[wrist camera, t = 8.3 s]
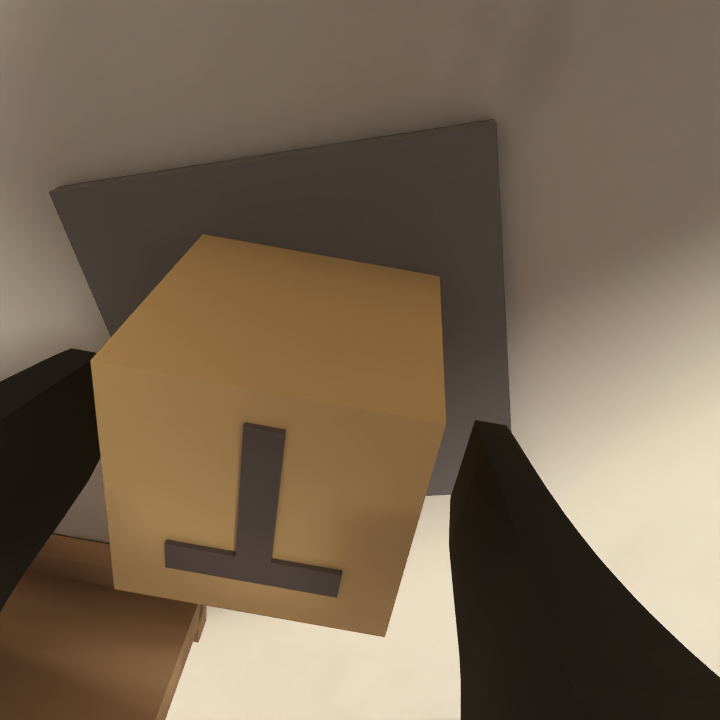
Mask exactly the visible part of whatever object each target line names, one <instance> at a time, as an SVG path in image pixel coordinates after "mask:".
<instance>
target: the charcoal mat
mask: <svg viewBox="0 0 720 720" xmlns="http://www.w3.org/2000/svg"><path fill="white" fill-rule="evenodd" d="M49 194H50V196H51V198H52V201H53V203H54V205H55V208H56V210H57V212H58V215H59V217H60V219H61V222H62V224H63V226H64V229H65V231H66V233H67V236H68V238H69V240H70V242H71V245H72V247H73V249H74V252H75V254H76V256H77V259H78V261H79V263H80V266H81V268H82V270H83V273H84V275H85V277H86V280H87V282H88V284H89V287H90V289H91V291H92V294H93V296H94V298H95V301H96V303H97V305H98V308H99V310H100V312H101V315H102V317H103V319H104V322H105V324H106V326H107V329H108V331H109V333H110V336H111V337H112V336H113V335H114V333H115V332H116V331H117V330H118V329H119V328H120V327H121V326H122V324H123V323H124V322H125V321H126V320H127V319H128V318H129V317H130V315H131V314H132V313H133V312H134V311H135V310H136V309H137V308H138V306H139V305H140V304H141V303H142V302H143V301H144V300H145V299H146V297H147V296H148V295H149V294H150V293H151V292H152V291H153V290H154V288H155V287H156V286H157V285H158V284H159V283H160V282H161V281H162V279H163V278H164V277H165V276H166V275H167V274H168V273H169V272H170V271H171V269H172V268H173V267H174V266H175V265H176V264H177V263H178V262H179V260H180V259H181V258H182V257H183V256H184V255H185V254H186V253H187V251H188V250H189V249H190V248H191V247H192V246H193V245H194V244H195V242H196V241H197V240H198V239H199V238H200V237H201V236H202V235H203V234H205V235H211V236H216V237H222V238H227V239H233V240H239V241H244V242H250V243H256V244H261V245H267V246H272V247H278V248H284V249H289V250H295V251H300V252H306V253H312V254H317V255H323V256H329V257H334V258H340V259H345V260H351V261H357V262H362V263H368V264H374V265H379V266H385V267H390V268H396V269H402V270H407V271H413V272H418V273H424V274H430V275H435V276H440V295H441V317H442V340H443V362H444V385H445V407H446V426H445V430H444V433H443V437H442V440H441V444H440V447H439V451H438V454H437V458H436V461H435V464H434V468H433V471H432V475H431V478H430V482H429V485H428V489H427V492H426V496H432V495H450V494H452V491H453V488H454V485H455V481H456V478H457V475H458V472H459V469H460V466H461V463H462V459H463V456H464V453H465V450H466V447H467V444H468V441H469V437H470V434H471V431H472V428H473V425H474V422H475V420H479V421H485V422H490V423H496V424H502V425H507V427H508V428H509V430H510V431H511V419H510V398H509V378H508V357H507V337H506V317H505V296H504V276H503V255H502V235H501V214H500V194H499V173H498V153H497V132H496V123H495V121H494V120H488V121H482V122H475V123H469V124H462V125H456V126H449V127H443V128H436V129H430V130H423V131H417V132H410V133H404V134H397V135H391V136H384V137H378V138H371V139H365V140H358V141H352V142H346V143H339V144H333V145H326V146H320V147H313V148H307V149H300V150H294V151H287V152H281V153H274V154H268V155H261V156H255V157H248V158H242V159H235V160H229V161H222V162H216V163H209V164H203V165H196V166H190V167H183V168H177V169H170V170H164V171H158V172H151V173H145V174H138V175H132V176H125V177H119V178H112V179H106V180H99V181H93V182H86V183H80V184H73V185H67V186H60V187H57V188H56V189H54V190H52V191H50V192H49Z"/></svg>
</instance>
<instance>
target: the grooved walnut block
mask: <svg viewBox="0 0 720 720" xmlns="http://www.w3.org/2000/svg"><path fill="white" fill-rule="evenodd" d="M205 622H206V605H201V604H195V603H190V602H184V601H179V600H173V599H167V598H162V597H156V596H150V595H145V594H139V593H133V592H128V591H122V590H117V589H114V580H113V571H112V561H111V552H110V544H105V543H99V542H94V541H88V540H82V539H77V538H71V537H65V536H60V535H54V534H52V535H51V536H50V537H49V539H48V540H47V542H46V543H45V545H44V546H43V547H42V549H41V550H40V552H39V553H38V555H37V556H36V558H35V559H34V560H33V562H32V563H31V565H30V566H29V568H28V569H27V570H26V572H25V573H24V575H23V576H22V578H21V579H20V581H19V582H18V584H17V585H16V587H15V589H14V590H13V592H12V593H11V595H10V596H9V598H8V600H7V601H6V603H5V605H4V607H3V608H2V610H1V612H0V720H165V719H166V716H167V713H168V710H169V707H170V705H171V702H172V699H173V696H174V693H175V691H176V688H177V685H178V682H179V679H180V676H181V674H182V671H183V668H184V665H185V662H186V660H187V657H188V654H189V651H190V648H191V645H192V643H193V642H199V639H200V636H201V633H202V630H203V628H204V625H205Z"/></svg>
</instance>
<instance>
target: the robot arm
mask: <svg viewBox="0 0 720 720" xmlns="http://www.w3.org/2000/svg"><path fill="white" fill-rule="evenodd" d="M96 354H97V353H94V352H88V351H83V350H77V349H69V350H66V351H64V352H61V353H59V354H57V355H55V356H52V357H50V358H48V359H46V360H44V361H42V362H40V363H38V364H36V365H34V366H31V367H29V368H27V369H25V370H23V371H21V372H19V373H17V374H15V375H13V376H11V377H9V378H7V379H5V380H3V381H1V382H0V612H1V610H2V608H3V607H4V605H5V603H6V601H7V600H8V598H9V596H10V595H11V593H12V592H13V590H14V589H15V587H16V585H17V584H18V582H19V581H20V579H21V578H22V576H23V575H24V573H25V572H26V570H27V569H28V568H29V566H30V565H31V563H32V562H33V560H34V559H35V558H36V556H37V555H38V553H39V552H40V550H41V549H42V547H43V546H44V545H45V543H46V542H47V540H48V539H49V537H50V536H51V535H52V533H53V532H54V530H55V529H56V527H57V526H58V525H59V523H60V522H61V520H62V519H63V517H64V516H65V514H66V513H67V512H68V510H69V509H70V507H71V506H72V504H73V503H74V501H75V500H76V498H77V497H78V495H79V494H80V493H81V491H82V490H83V488H84V487H85V485H86V484H87V482H88V480H89V479H90V477H91V475H92V473H93V471H94V469H95V467H96V465H97V463H98V461H99V459H100V447H99V437H98V428H97V418H96V409H95V399H94V390H93V380H92V371H91V361H90V360H91V359H92V358H93V357H94V356H95V355H96ZM449 549H450V561H451V572H452V583H453V593H454V604H455V614H456V624H457V635H458V645H459V656H460V674H461V720H720V677H719V676H718V675H716V674H715V673H714V672H713V671H712V670H710V669H709V668H708V667H707V666H706V665H705V664H704V663H703V662H701V661H700V660H699V659H698V658H697V657H696V656H695V655H694V654H692V653H691V652H690V651H689V650H688V649H687V648H686V647H685V646H684V645H683V644H682V643H680V642H679V641H678V640H677V639H676V638H675V637H674V636H673V635H672V634H671V633H670V632H669V631H668V630H667V629H666V628H665V627H664V626H663V625H662V624H661V623H660V622H659V621H657V620H656V619H655V618H654V617H653V616H652V615H651V614H650V613H649V612H648V611H647V610H646V609H645V608H644V607H643V606H642V605H641V604H640V602H639V601H638V600H637V599H636V598H635V597H634V596H633V595H632V594H631V593H630V592H629V591H628V590H627V589H626V587H625V586H624V585H623V584H622V583H621V582H620V581H619V580H618V579H617V578H616V576H615V575H614V574H613V573H612V572H611V571H610V570H609V569H608V568H607V567H606V565H605V564H604V563H603V562H602V561H601V559H600V558H599V557H598V556H597V555H596V554H595V552H594V551H593V550H592V549H591V547H590V546H589V545H588V544H587V542H586V541H585V540H584V538H583V537H582V536H581V535H580V533H579V532H578V531H577V529H576V528H575V527H574V526H573V524H572V523H571V522H570V520H569V519H568V518H567V516H566V515H565V514H564V512H563V511H562V509H561V508H560V506H559V505H558V503H557V502H556V501H555V499H554V498H553V496H552V495H551V493H550V492H549V491H548V489H547V488H546V486H545V485H544V483H543V482H542V480H541V479H540V477H539V475H538V474H537V472H536V471H535V469H534V468H533V466H532V465H531V463H530V461H529V460H528V458H527V457H526V455H525V453H524V452H523V450H522V449H521V447H520V445H519V444H518V442H517V441H516V439H515V437H514V436H513V434H512V433H511V431H510V430H509V428H508V427H507V425H502V424H496V423H490V422H485V421H479V420H475V422H474V425H473V428H472V431H471V434H470V437H469V441H468V444H467V447H466V450H465V453H464V456H463V459H462V463H461V466H460V469H459V472H458V475H457V478H456V481H455V485H454V488H453V491H452V494H451V499H450V527H449Z"/></svg>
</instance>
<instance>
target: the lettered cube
mask: <svg viewBox="0 0 720 720" xmlns="http://www.w3.org/2000/svg"><path fill="white" fill-rule="evenodd" d="M90 361H91V371H92V380H93V390H94V399H95V409H96V418H97V428H98V437H99V447H100V457H101V466H102V476H103V485H104V495H105V504H106V514H107V523H108V533H109V542H110V552H111V561H112V571H113V580H114V589H117V590H122V591H128V592H133V593H139V594H145V595H150V596H156V597H162V598H167V599H173V600H179V601H184V602H190V603H195V604H201V605H207V606H212V607H218V608H224V609H229V610H235V611H240V612H246V613H252V614H257V615H263V616H269V617H274V618H280V619H286V620H291V621H297V622H302V623H308V624H314V625H319V626H325V627H331V628H336V629H342V630H348V631H353V632H359V633H364V634H370V635H376V636H381V637H385V634H386V631H387V628H388V624H389V621H390V617H391V614H392V610H393V607H394V603H395V600H396V596H397V593H398V589H399V586H400V582H401V579H402V575H403V572H404V569H405V565H406V562H407V558H408V555H409V551H410V548H411V544H412V541H413V537H414V534H415V530H416V527H417V523H418V520H419V516H420V513H421V510H422V506H423V503H424V499H425V496H426V492H427V489H428V485H429V482H430V478H431V475H432V471H433V468H434V464H435V461H436V458H437V454H438V451H439V447H440V444H441V440H442V437H443V433H444V430H445V426H446V407H445V385H444V362H443V340H442V317H441V295H440V276H435V275H430V274H424V273H418V272H413V271H407V270H402V269H396V268H390V267H385V266H379V265H374V264H368V263H362V262H357V261H351V260H345V259H340V258H334V257H329V256H323V255H317V254H312V253H306V252H300V251H295V250H289V249H284V248H278V247H272V246H267V245H261V244H256V243H250V242H244V241H239V240H233V239H227V238H222V237H216V236H211V235H205V234H203V235H202V236H201V237H200V238H199V239H198V240H197V241H196V242H195V244H194V245H193V246H192V247H191V248H190V249H189V250H188V251H187V253H186V254H185V255H184V256H183V257H182V258H181V259H180V260H179V262H178V263H177V264H176V265H175V266H174V267H173V268H172V269H171V271H170V272H169V273H168V274H167V275H166V276H165V277H164V278H163V279H162V281H161V282H160V283H159V284H158V285H157V286H156V287H155V288H154V290H153V291H152V292H151V293H150V294H149V295H148V296H147V297H146V299H145V300H144V301H143V302H142V303H141V304H140V305H139V306H138V308H137V309H136V310H135V311H134V312H133V313H132V314H131V315H130V317H129V318H128V319H127V320H126V321H125V322H124V323H123V324H122V326H121V327H120V328H119V329H118V330H117V331H116V332H115V333H114V335H113V336H112V337H111V338H110V339H109V340H108V341H107V342H106V344H105V345H104V346H103V347H102V348H101V349H100V350H99V351H98V353H97V354H96V355H95V356H94V357H93V358H92V359H91V360H90Z"/></svg>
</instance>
